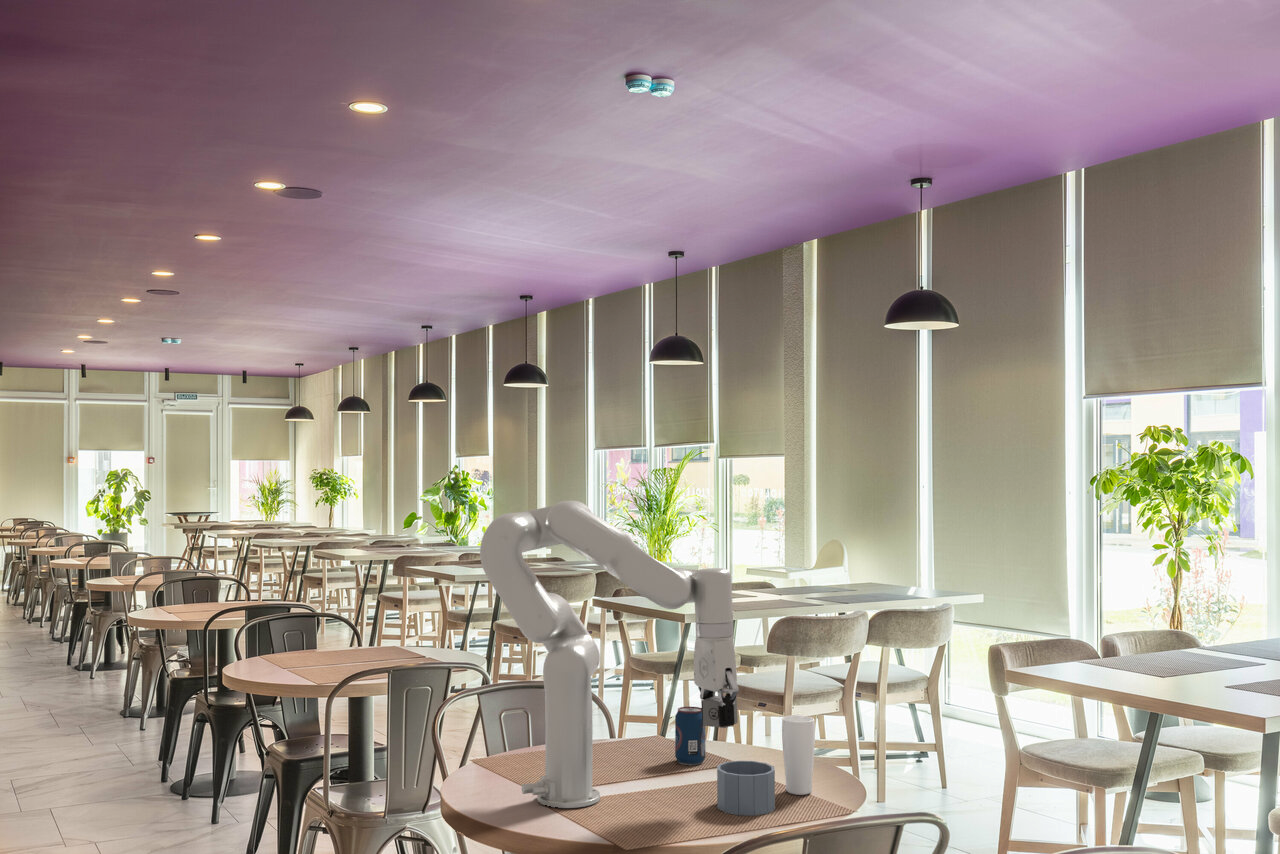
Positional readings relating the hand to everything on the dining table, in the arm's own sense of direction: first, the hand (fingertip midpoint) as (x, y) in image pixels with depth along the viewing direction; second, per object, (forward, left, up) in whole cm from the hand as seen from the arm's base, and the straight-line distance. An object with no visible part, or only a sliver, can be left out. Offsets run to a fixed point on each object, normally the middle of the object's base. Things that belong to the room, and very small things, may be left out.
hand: (718, 721), depth 209 cm
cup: (+5, -3, -16) cm, 17 cm away
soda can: (+11, +32, -17) cm, 38 cm away
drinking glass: (+20, +1, -17) cm, 26 cm away
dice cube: (+1, 0, -1) cm, 1 cm away
